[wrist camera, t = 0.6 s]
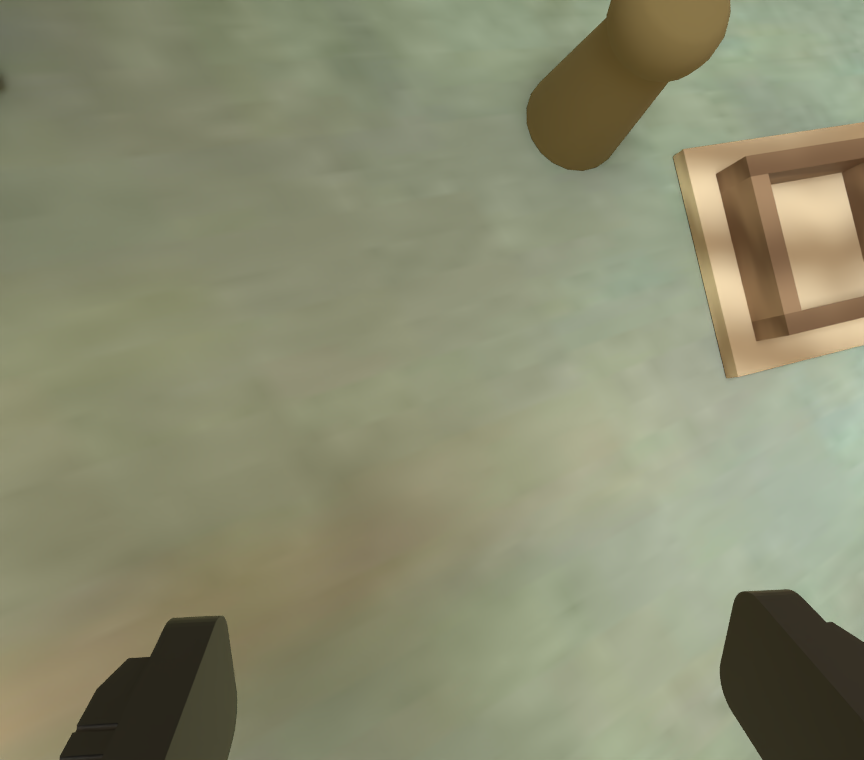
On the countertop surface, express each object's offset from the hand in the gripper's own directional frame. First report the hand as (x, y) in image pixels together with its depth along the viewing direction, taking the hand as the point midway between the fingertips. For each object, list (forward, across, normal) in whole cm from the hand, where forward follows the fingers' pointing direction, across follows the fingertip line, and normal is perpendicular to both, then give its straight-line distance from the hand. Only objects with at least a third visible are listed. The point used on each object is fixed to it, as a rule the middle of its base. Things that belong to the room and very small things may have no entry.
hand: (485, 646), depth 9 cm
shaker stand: (+29, -24, -2) cm, 38 cm away
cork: (+30, -10, -10) cm, 34 cm away
